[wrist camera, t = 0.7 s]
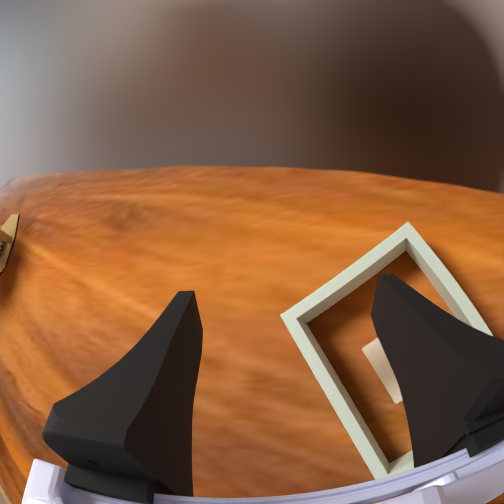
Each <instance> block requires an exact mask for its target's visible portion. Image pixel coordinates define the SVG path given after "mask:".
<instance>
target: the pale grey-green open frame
mask: <svg viewBox="0 0 504 504" xmlns="http://www.w3.org/2000/svg"><path fill="white" fill-rule="evenodd" d="M405 251H407V253H408V254H409V255H410V256H411V258H412V259H413V260H414V261H415V263H416V264H417V265H418V267H419V268H420V269H421V270H422V272H423V273H424V274H425V276H426V277H427V278H428V280H429V281H430V282H431V284H432V285H433V286H434V288H435V289H436V291H437V292H438V293H439V295H440V296H441V297H442V299H443V300H444V302H445V303H446V305H447V306H448V307H449V309H450V310H451V312H452V313H453V315H454V316H455V318H457V319H459V320H461V321H462V322H464V323H466V324H468V325H470V326H472V327H474V328H476V329H478V330H480V331H482V332H484V333H487V334H489V335H491V336H493V335H492V333H491V331H490V330H489V328H488V327H487V325H486V324H485V322H484V320H483V319H482V317H481V316H480V314H479V313H478V311H477V310H476V309H475V307H474V306H473V304H472V303H471V301H470V300H469V298H468V297H467V296H466V294H465V293H464V291H463V290H462V289H461V287H460V286H459V284H458V283H457V282H456V280H455V279H454V278H453V276H452V275H451V274H450V272H449V271H448V270H447V268H446V267H445V266H444V265H443V263H442V262H441V261H440V259H439V258H438V257H437V256H436V254H435V253H434V252H433V251H432V249H431V248H430V247H429V246H428V245H427V243H426V242H425V241H424V240H423V239H422V237H421V236H420V235H419V234H418V233H417V231H416V230H415V229H414V228H413V227H412V226H411V225H410V223H409V222H407V223H405V224H404V225H403V226H402V227H400V228H399V229H398V230H397V231H395V232H394V233H393V234H392V235H390V236H389V237H388V238H386V239H385V240H384V241H383V242H381V243H380V244H379V245H377V246H376V247H375V248H373V249H372V250H371V251H369V252H368V253H367V254H366V255H364V256H363V257H362V258H360V259H359V260H358V261H356V262H355V263H353V264H352V265H351V266H349V267H348V268H347V269H345V270H344V271H343V272H341V273H340V274H338V275H337V276H336V277H334V278H333V279H332V280H330V281H329V282H327V283H326V284H325V285H323V286H322V287H320V288H319V289H318V290H316V291H315V292H313V293H312V294H310V295H309V296H308V297H306V298H305V299H303V300H302V301H300V302H299V303H297V304H296V305H294V306H293V307H292V308H290V309H289V310H287V311H286V312H284V313H283V314H281V315H280V316H281V318H282V319H283V321H284V323H285V325H286V326H287V328H288V330H289V332H290V333H291V335H292V337H293V339H294V340H295V342H296V344H297V345H298V347H299V349H300V351H301V352H302V354H303V356H304V358H305V359H306V361H307V363H308V365H309V366H310V368H311V370H312V372H313V373H314V375H315V377H316V378H317V380H318V382H319V384H320V385H321V387H322V389H323V391H324V392H325V394H326V396H327V397H328V399H329V401H330V403H331V404H332V406H333V408H334V409H335V411H336V413H337V415H338V416H339V418H340V420H341V422H342V423H343V425H344V427H345V428H346V430H347V432H348V434H349V435H350V437H351V439H352V440H353V442H354V444H355V446H356V447H357V449H358V451H359V452H360V454H361V456H362V457H363V459H364V461H365V463H366V464H367V466H368V468H369V469H370V471H371V473H372V475H373V476H374V478H375V480H377V479H380V478H384V477H388V476H391V475H395V474H398V473H401V472H405V471H408V470H411V469H414V462H413V452H412V450H411V451H410V452H408V453H406V454H405V455H403V456H401V457H399V458H398V459H396V460H394V461H392V462H391V463H389V462H388V460H387V459H386V457H385V455H384V454H383V452H382V450H381V448H380V447H379V445H378V443H377V442H376V440H375V438H374V436H373V435H372V433H371V431H370V430H369V428H368V426H367V425H366V423H365V421H364V419H363V418H362V416H361V414H360V413H359V411H358V409H357V408H356V406H355V404H354V402H353V401H352V399H351V397H350V396H349V394H348V392H347V391H346V389H345V387H344V386H343V384H342V382H341V381H340V379H339V377H338V375H337V374H336V372H335V370H334V369H333V367H332V365H331V364H330V362H329V360H328V359H327V357H326V355H325V354H324V352H323V350H322V349H321V347H320V345H319V344H318V342H317V340H316V339H315V337H314V335H313V334H312V332H311V330H310V329H309V327H308V325H307V324H306V323H308V322H309V321H311V320H312V319H314V318H315V317H317V316H318V315H320V314H321V313H322V312H324V311H325V310H327V309H328V308H330V307H331V306H333V305H334V304H335V303H337V302H338V301H340V300H341V299H342V298H344V297H345V296H347V295H348V294H349V293H351V292H352V291H354V290H355V289H356V288H358V287H359V286H360V285H362V284H363V283H365V282H366V281H367V280H369V279H370V278H371V277H373V276H374V275H375V274H377V273H378V272H379V271H381V270H382V269H383V268H384V267H386V266H387V265H388V264H390V263H391V262H392V261H393V260H395V259H396V258H397V257H399V256H400V255H401V254H402V253H404V252H405Z"/></svg>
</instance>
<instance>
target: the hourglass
mask: <svg viewBox="0 0 504 504" xmlns="http://www.w3.org/2000/svg"><path fill="white" fill-rule="evenodd" d="M18 215H19V214H11V216H10V217H9V218H8V220H7V221H6V223H5V224H4V225H3V227H2V228H1V229H0V273H1V272H2V270H3V269H4V268H5V265H6V262H7V258H8V255H9V252H10V249H11V246H12V243H13V241H14V238H15V232H16V226H17V220H18Z"/></svg>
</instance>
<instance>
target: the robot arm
mask: <svg viewBox="0 0 504 504" xmlns="http://www.w3.org/2000/svg"><path fill="white" fill-rule="evenodd" d="M371 317H372V320H373V324H374V327H375V330H376V334H377V336H378V339H379V341H380V343H381V346H382V348H383V350H384V352H385V355H386V357H387V359H388V361H389V363H390V366H391V368H392V370H393V373H394V375H395V377H396V380H397V383H398V385H399V388H400V392H401V396H402V399H403V403H404V407H405V411H406V416H407V420H408V425H409V431H410V437H411V443H412V452H413V462H414V469H411V470H408V471H405V472H401V473H398V474H395V475H391V476H388V477H384V478H380V479H377V480H373V481H369V482H364V483H360V484H356V485H351V486H346V487H341V488H336V489H330V490H324V491H318V492H311V493H303V494H295V495H285V496H273V497H256V498H203V497H193V482H192V414H193V402H194V395H195V389H196V383H197V378H198V372H199V366H200V360H201V354H202V338H203V328H202V324H201V320H200V315H199V311H198V306H197V302H196V297H195V293H194V291H179V292H178V293H177V294H176V295H175V297H174V298H173V299H172V301H171V302H170V303H169V305H168V306H167V307H166V309H165V310H164V311H163V313H162V314H161V315H160V317H159V318H158V319H157V320H156V322H155V323H154V324H153V325H152V327H151V328H150V329H149V330H148V331H147V333H146V334H145V335H144V336H143V337H142V338H141V339H140V341H139V342H138V343H137V344H136V345H135V346H134V347H133V348H132V349H131V350H130V351H129V352H128V353H127V354H126V355H125V356H124V357H123V358H122V359H121V360H119V361H118V362H117V363H116V364H115V365H113V366H112V367H111V368H110V369H108V370H107V371H106V372H105V373H103V374H102V375H101V376H99V377H98V378H97V379H95V380H94V381H92V382H91V383H89V384H88V385H86V386H85V387H83V388H82V389H80V390H78V391H77V392H75V393H73V394H71V395H69V396H67V397H66V398H64V399H62V400H60V401H58V402H56V403H54V404H53V407H52V409H51V412H50V414H49V417H48V419H47V422H46V425H45V427H44V430H43V433H42V437H43V439H44V441H45V443H46V444H47V445H48V446H49V447H50V448H51V449H52V450H53V451H55V452H56V453H57V454H58V455H59V456H60V457H62V458H63V459H64V460H65V461H67V462H68V463H69V464H68V468H67V470H65V469H64V468H61V467H59V466H56V465H53V464H50V463H47V462H44V461H41V460H38V459H34V461H33V465H32V468H31V471H30V474H29V478H28V481H27V485H26V488H25V492H24V496H23V500H22V504H368V503H372V502H376V501H379V500H383V499H386V498H390V497H393V496H397V495H400V494H403V493H406V492H409V491H412V490H414V491H413V492H411V493H408V494H405V495H402V496H399V497H396V498H392V499H389V500H385V501H382V502H378V503H375V504H486V503H487V502H489V501H491V500H493V499H494V498H496V497H497V496H499V495H501V494H502V493H504V340H502V339H499V338H496V337H494V336H491V335H489V334H487V333H484V332H482V331H480V330H478V329H476V328H474V327H472V326H470V325H468V324H466V323H464V322H462V321H461V320H459V319H457V318H455V317H454V316H452V315H450V314H449V313H447V312H446V311H444V310H443V309H441V308H440V307H438V306H437V305H435V304H434V303H432V302H431V301H429V300H428V299H427V298H425V297H424V296H422V295H421V294H420V293H418V292H417V291H416V290H414V289H413V288H412V287H410V286H409V285H407V284H406V283H405V282H403V281H402V280H400V279H399V278H397V277H396V276H394V275H393V274H390V275H380V276H379V277H378V282H377V288H376V293H375V298H374V303H373V307H372V312H371Z"/></svg>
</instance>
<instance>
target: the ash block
mask: <svg viewBox="0 0 504 504" xmlns="http://www.w3.org/2000/svg"><path fill="white" fill-rule="evenodd" d="M362 350H363V352H364V353H365V355H366V357H367V358H368V360H369V361H370V363H371V365H372V366H373V368H374V369H375V371H376V373H377V374H378V376H379V378H380V379H381V381H382V383H383V384H384V386H385V387H386V389H387V391H388V392H389V394H390V396H391V397H392V399H393V401H394V402H395V404H397V403H398V402H400V401H401V400H403V399H402V396H401V392H400V388H399V385H398V383H397V380H396V377H395V375H394V373H393V370H392V368H391V366H390V363H389V361H388V359H387V357H386V355H385V352H384V350H383V348H382V346H381V343H380V341H379V339H378V338H377V339H375V340H374V341H372V342H371V343H369V344H368V345H366V346H365V347H364V348H362Z"/></svg>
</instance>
